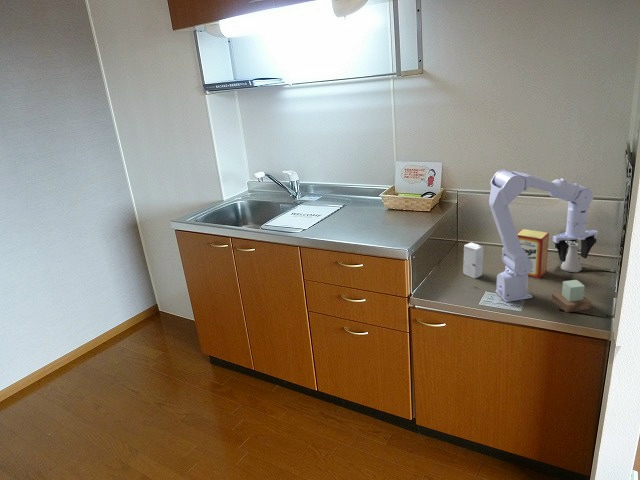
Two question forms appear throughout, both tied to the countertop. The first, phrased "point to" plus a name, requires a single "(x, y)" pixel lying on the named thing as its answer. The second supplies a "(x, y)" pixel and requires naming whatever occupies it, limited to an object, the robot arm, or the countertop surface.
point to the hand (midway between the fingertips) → (573, 258)
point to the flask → (572, 259)
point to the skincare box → (473, 260)
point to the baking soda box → (535, 250)
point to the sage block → (573, 290)
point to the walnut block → (570, 303)
